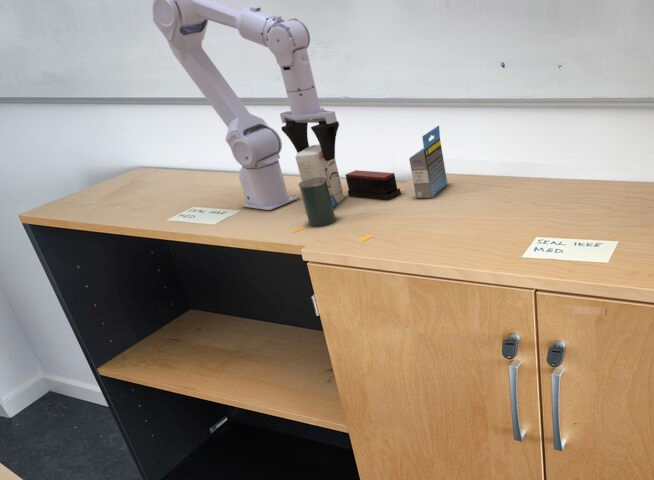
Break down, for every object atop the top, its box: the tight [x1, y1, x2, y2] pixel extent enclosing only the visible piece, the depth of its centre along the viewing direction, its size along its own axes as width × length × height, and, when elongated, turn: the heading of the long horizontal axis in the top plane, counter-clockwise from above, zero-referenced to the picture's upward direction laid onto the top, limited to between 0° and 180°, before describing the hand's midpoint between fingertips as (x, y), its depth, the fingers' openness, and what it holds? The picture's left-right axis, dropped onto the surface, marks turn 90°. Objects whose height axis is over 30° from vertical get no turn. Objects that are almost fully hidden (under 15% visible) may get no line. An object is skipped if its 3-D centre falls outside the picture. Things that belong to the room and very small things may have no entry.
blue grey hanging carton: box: [408, 125, 448, 199], centre depth 139 cm, size 9×4×12 cm, turn 160°
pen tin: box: [298, 177, 337, 228], centre depth 132 cm, size 5×5×8 cm
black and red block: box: [345, 169, 402, 201], centre depth 144 cm, size 12×4×5 cm, turn 53°
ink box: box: [295, 144, 345, 208], centre depth 141 cm, size 9×5×12 cm, turn 167°
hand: (317, 158), depth 140 cm, fingers open, 7 cm apart
